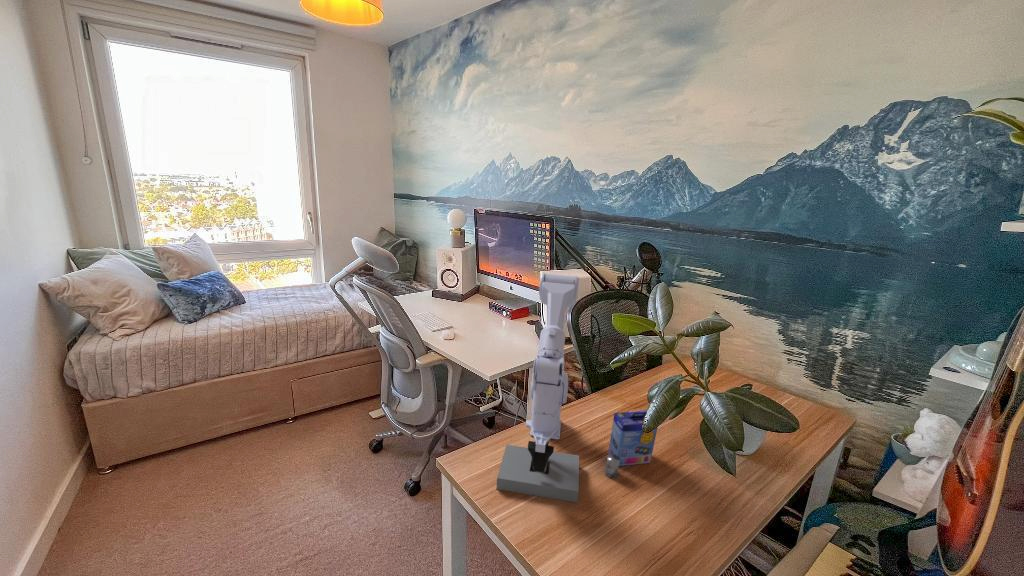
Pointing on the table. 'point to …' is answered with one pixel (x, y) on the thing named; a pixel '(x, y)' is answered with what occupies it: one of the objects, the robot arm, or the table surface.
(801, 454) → the table surface
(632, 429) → the ink cartridge box
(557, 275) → the robot arm
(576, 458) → the hole plate
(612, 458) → the short steel pin
